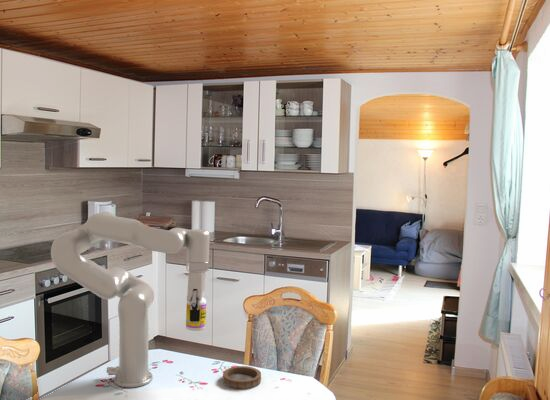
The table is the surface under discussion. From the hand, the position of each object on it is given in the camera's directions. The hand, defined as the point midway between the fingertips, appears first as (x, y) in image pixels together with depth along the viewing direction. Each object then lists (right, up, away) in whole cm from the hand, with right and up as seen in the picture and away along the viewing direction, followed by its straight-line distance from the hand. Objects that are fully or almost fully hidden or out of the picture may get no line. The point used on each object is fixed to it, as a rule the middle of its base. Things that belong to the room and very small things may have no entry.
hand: (196, 317), depth 170 cm
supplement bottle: (0, -4, 0) cm, 4 cm away
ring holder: (+15, -23, +3) cm, 27 cm away
